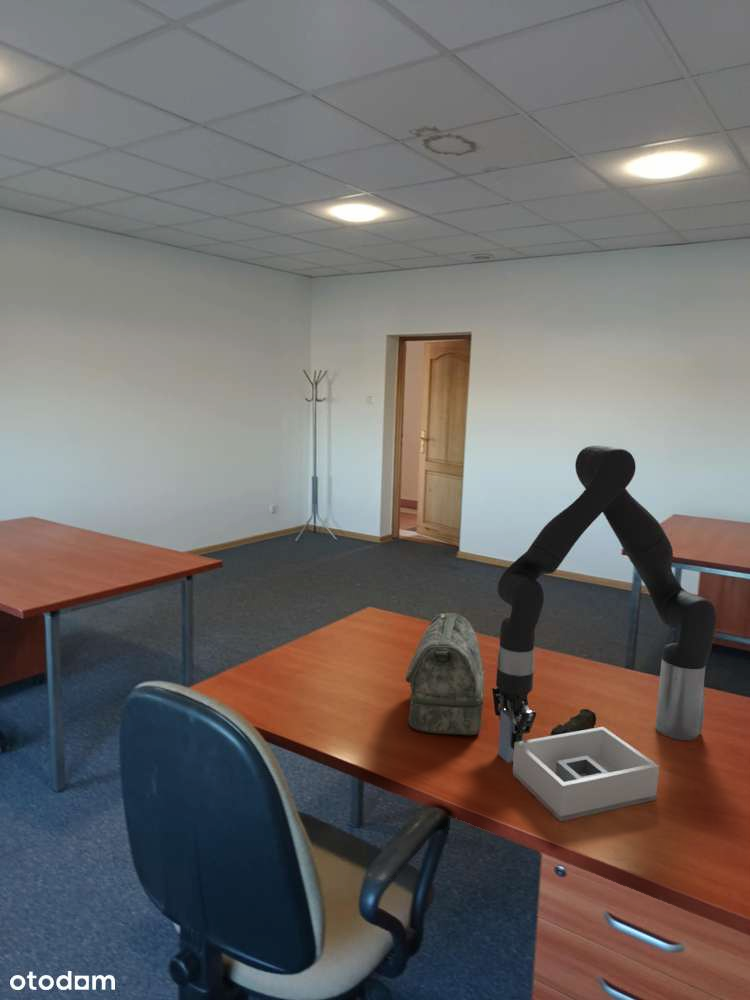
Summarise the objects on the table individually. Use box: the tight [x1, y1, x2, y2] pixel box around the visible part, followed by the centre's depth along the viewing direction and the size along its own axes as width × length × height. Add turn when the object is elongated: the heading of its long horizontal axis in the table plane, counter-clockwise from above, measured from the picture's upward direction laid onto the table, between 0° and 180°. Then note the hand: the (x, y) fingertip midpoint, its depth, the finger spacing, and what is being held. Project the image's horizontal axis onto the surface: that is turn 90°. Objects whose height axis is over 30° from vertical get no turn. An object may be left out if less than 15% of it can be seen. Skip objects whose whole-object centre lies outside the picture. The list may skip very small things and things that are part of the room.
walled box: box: [512, 726, 660, 822], centre depth 128 cm, size 22×16×7 cm
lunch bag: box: [405, 612, 485, 736], centre depth 158 cm, size 26×18×22 cm
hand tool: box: [550, 708, 597, 736], centre depth 148 cm, size 19×4×5 cm, turn 134°
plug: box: [497, 710, 524, 763], centre depth 138 cm, size 4×4×10 cm
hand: (510, 742), depth 139 cm, fingers closed on plug, 3 cm apart
